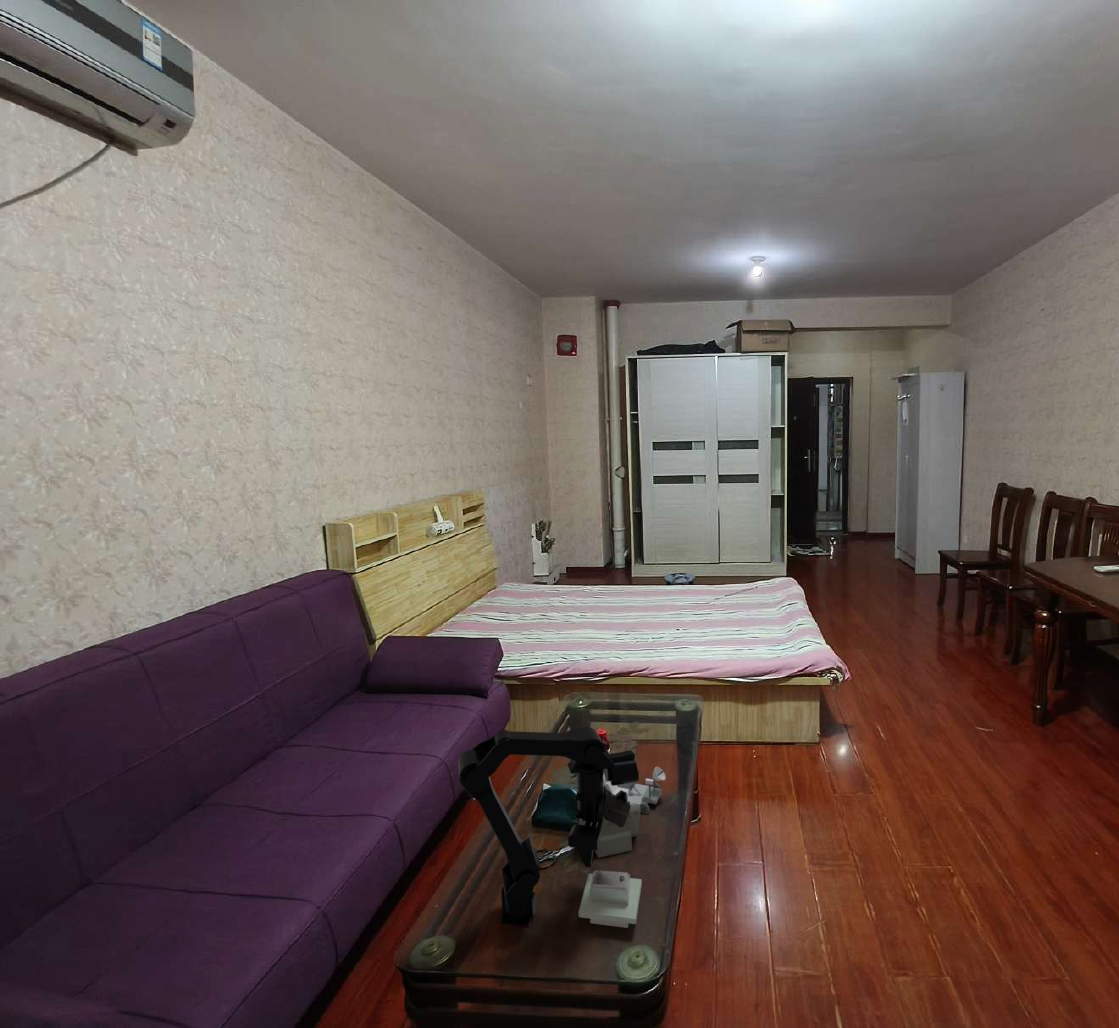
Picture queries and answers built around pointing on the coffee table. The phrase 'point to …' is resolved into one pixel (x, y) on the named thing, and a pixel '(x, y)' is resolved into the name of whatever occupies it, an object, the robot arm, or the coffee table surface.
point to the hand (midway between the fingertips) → (592, 853)
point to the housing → (610, 887)
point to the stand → (611, 907)
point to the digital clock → (617, 834)
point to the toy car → (640, 790)
